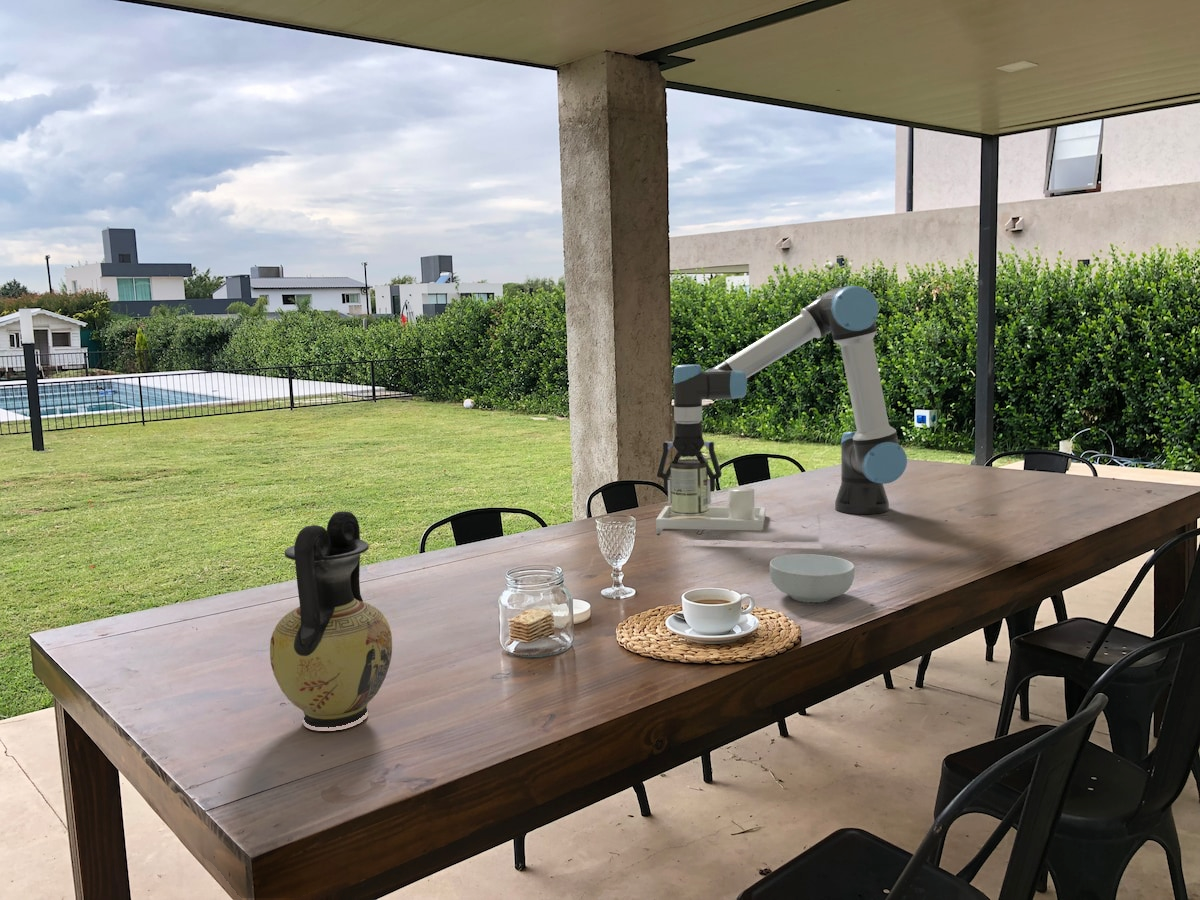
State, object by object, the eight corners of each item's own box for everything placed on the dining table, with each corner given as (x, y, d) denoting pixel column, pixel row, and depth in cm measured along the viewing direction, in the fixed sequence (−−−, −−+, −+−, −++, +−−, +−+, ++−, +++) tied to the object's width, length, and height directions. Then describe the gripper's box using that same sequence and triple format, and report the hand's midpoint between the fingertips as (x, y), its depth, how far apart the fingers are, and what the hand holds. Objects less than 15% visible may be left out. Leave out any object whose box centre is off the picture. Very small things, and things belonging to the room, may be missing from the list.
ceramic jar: (755, 519, 253) (754, 487, 252) (753, 525, 247) (753, 492, 245) (729, 519, 255) (729, 487, 254) (727, 525, 248) (727, 492, 247)
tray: (765, 521, 258) (765, 507, 258) (762, 535, 241) (762, 520, 240) (665, 519, 264) (665, 505, 264) (656, 533, 247) (655, 519, 246)
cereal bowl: (839, 614, 176) (839, 578, 175) (756, 603, 184) (756, 568, 183) (864, 591, 190) (865, 558, 189) (787, 581, 199) (787, 549, 198)
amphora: (377, 746, 126) (363, 530, 122) (255, 747, 127) (237, 533, 123) (409, 694, 143) (397, 504, 139) (302, 696, 144) (287, 507, 140)
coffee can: (671, 509, 259) (670, 459, 257) (708, 508, 258) (707, 458, 256) (670, 516, 249) (669, 465, 247) (709, 516, 248) (708, 464, 246)
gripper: (731, 420, 251) (732, 500, 254) (649, 420, 256) (650, 499, 259) (729, 423, 244) (730, 506, 247) (644, 423, 249) (646, 505, 252)
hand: (689, 502), depth 253 cm, fingers closed on coffee can, 10 cm apart
